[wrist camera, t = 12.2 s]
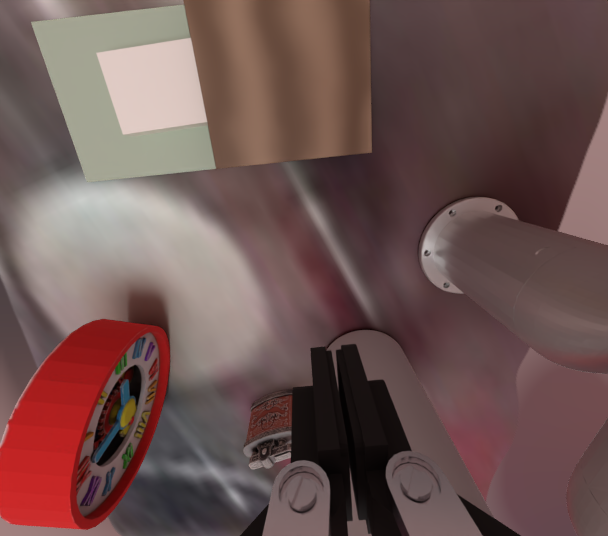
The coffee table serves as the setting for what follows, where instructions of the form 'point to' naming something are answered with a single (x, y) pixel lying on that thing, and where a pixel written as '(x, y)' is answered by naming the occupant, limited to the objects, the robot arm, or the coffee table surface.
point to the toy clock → (83, 425)
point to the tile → (154, 87)
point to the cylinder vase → (408, 414)
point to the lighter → (270, 430)
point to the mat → (97, 102)
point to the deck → (283, 78)
